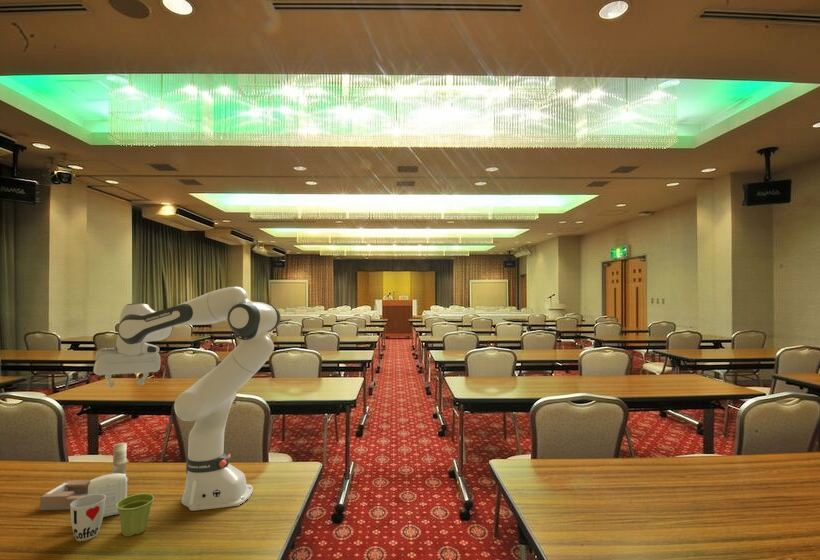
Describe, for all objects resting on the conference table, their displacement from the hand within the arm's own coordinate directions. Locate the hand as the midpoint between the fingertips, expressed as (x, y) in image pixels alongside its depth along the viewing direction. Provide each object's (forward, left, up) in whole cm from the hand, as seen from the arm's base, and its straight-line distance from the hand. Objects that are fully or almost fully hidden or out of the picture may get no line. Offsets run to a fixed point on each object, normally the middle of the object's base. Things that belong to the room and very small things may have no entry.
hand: (126, 385), depth 152 cm
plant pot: (-20, +28, -37) cm, 51 cm away
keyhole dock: (+9, +8, -37) cm, 38 cm away
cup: (-8, +30, -37) cm, 48 cm away
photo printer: (-6, +18, -37) cm, 42 cm away
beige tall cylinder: (+4, -5, -37) cm, 37 cm away
